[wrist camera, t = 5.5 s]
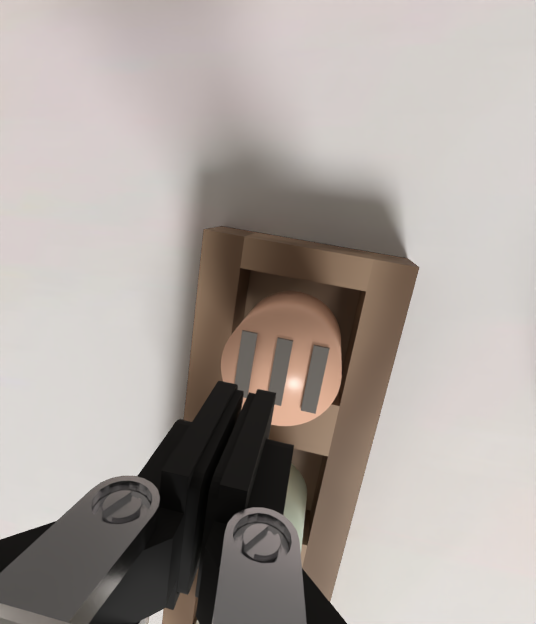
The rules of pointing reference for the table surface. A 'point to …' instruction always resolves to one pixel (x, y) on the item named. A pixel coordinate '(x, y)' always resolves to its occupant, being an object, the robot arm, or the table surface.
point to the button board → (354, 358)
